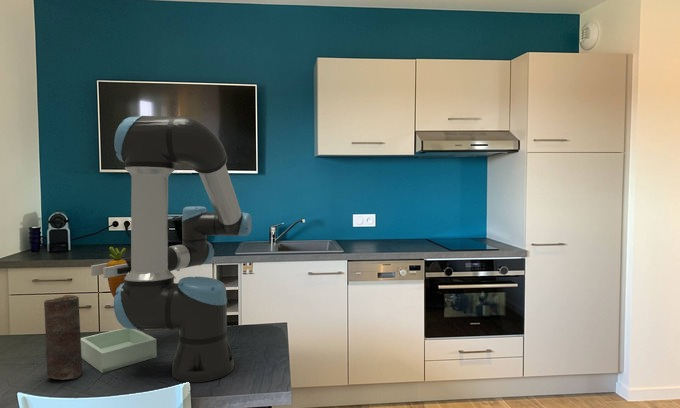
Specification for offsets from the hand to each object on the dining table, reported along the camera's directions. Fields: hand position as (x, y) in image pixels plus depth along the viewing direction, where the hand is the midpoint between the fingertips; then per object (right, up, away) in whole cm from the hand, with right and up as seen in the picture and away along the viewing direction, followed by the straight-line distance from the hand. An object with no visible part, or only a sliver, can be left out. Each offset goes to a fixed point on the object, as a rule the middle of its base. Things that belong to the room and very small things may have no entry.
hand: (98, 271), depth 116 cm
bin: (+2, -24, +6) cm, 25 cm away
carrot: (+3, -9, +5) cm, 11 cm away
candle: (-4, -25, -7) cm, 26 cm away
